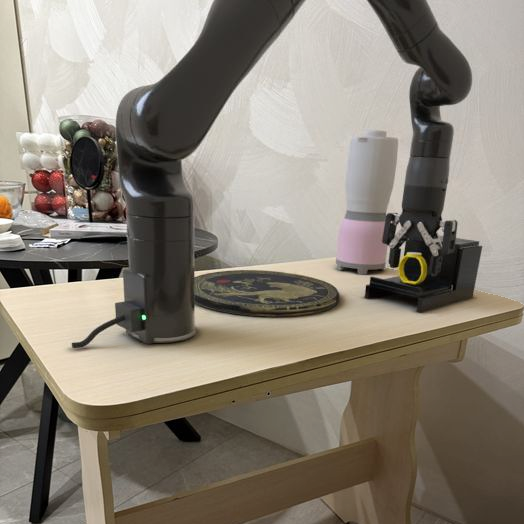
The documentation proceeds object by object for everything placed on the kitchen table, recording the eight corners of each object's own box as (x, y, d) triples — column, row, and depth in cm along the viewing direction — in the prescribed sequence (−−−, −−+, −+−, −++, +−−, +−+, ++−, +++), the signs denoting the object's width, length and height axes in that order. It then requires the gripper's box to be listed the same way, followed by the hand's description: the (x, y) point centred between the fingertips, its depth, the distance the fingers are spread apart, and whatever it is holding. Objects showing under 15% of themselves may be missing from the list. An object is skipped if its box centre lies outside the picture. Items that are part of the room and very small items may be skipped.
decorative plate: (155, 278, 102) (270, 264, 121) (155, 288, 103) (270, 272, 121) (249, 318, 81) (372, 293, 99) (249, 329, 82) (371, 302, 100)
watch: (427, 286, 100) (432, 255, 98) (418, 287, 98) (422, 256, 96) (403, 279, 105) (407, 250, 102) (393, 281, 103) (398, 250, 101)
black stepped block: (420, 312, 95) (429, 249, 91) (364, 297, 103) (371, 239, 99) (472, 297, 107) (483, 241, 103) (419, 285, 116) (427, 233, 112)
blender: (370, 277, 122) (387, 129, 111) (325, 268, 129) (338, 128, 118) (398, 268, 134) (416, 134, 123) (356, 261, 141) (370, 133, 130)
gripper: (381, 181, 97) (371, 267, 103) (451, 186, 88) (435, 281, 93) (403, 181, 102) (392, 263, 108) (472, 186, 93) (456, 276, 98)
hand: (412, 271), depth 101 cm, fingers open, 8 cm apart
